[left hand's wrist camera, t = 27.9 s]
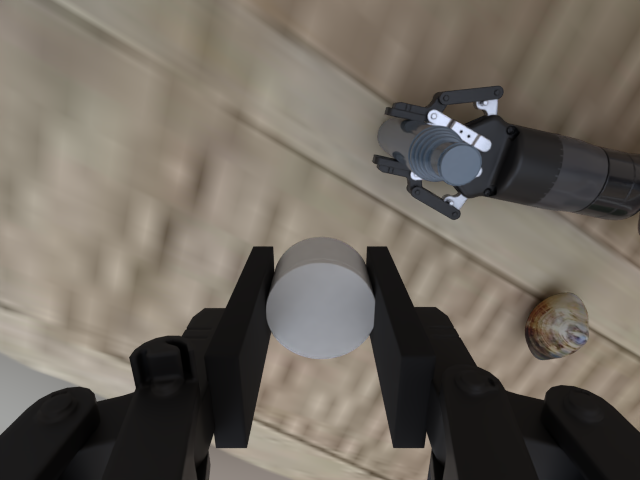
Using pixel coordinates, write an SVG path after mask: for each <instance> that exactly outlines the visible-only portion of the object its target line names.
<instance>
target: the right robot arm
mask: <svg viewBox="0 0 640 480" xmlns="http://www.w3.org/2000/svg"><path fill="white" fill-rule="evenodd" d="M503 92H504V91H503V88H502V87H501V86H491V87H482V88H473V89H464V90H454V91H445V92H438V93H436V94H435V95H434V96H433V100H432V101H431V102H430V104H429V105H428V106H426V107H420V106H416V105H411V104H407V103H402V102H398V103H393V106H392V108H389V107H386V110H385V114H386V115H390V116H394V117H399V118H403V119H408V120H413V121H419V122H427V123H430V124H436V125H441V126H446V127H448V128H451V129H452V130H454V131H455V132H456V133H457V134H458V135H459V136H460V137H461V139H462V140H463V142H464V143H467V144H470V145H471V146H472V145H473V146H474V147H476V148H477V149H478V151H479V152H480V155H481V157H482V165H481V169H480V171H479V173H478V175H477V176H476V177H475V179H473V180H472V181H471V182H470V183H467V184H465V185H461V186H454V188H455V189H456V190H457V191H458V193H457V194H455V195H449V194H446V195H444V196H443V197H442V198H440V197H439V196H437V195H435V194H433V193H432V192H430V191H428V190H427V189H425V188H423V187H422V180H423V179H421V178H419V177H418V176H417V175H415V174H414V173H413V172H411V171H410V170H409V169H408V168H406V167H405V166H404V165H402V164H401V163H400V162H398V161H397V160H396V159H393V158H389V157H384V156H379V155H374V157H373V163H375V164H377V168H378V169H379V170H380V171H382V172H385V173H389V174H394V175H399V176H404V177H406V178H407V183H408V185H407V191H408V192H409V193H410V194H411V195H412V196H413V197H414V198H416V199H418V200H419V201H421V202H423V203H425V204H426V205H428V206H430V207H431V208H433V209H435V210H437V211H438V212H440V213H442V214H444V215H445V216H447V217H449V218H450V219H452V220H456V219H458V218H459V217H460V214H461V213H460V211H459V210H460V208H461V207H462V206H463V204H464V203H465V201H466V200H467V199H468V198H474V197H478V196H485V197H490V198H494V199H499V200H504V201H509V202H513V203H518V204H523V205H528V206H533V207H537V208H542V209H547V210H555V211H568V212H572V213H577V214H582V215H587V216H591V217H596V218H601V219H606V220H622V219H626V218H629V217H631V216H633V215H635V214H636V213H637V212H639V211H640V154H632V153H626V152H621V151H617V150H612V149H608V148H604V147H599V146H595V145H592V144H589V143H587V142H584V141H582V140H579V139H575V138H571V137H567V136H562V135H559V134H553V133H549V132H544V131H540V130H536V129H531V128H527V127H522V126H518V125H513V124H509V123H507V122H505V121H504V120H503V119H502V118H501V117H500V116H498V115H497V108H498V99H499V98H501V97H502V95H503ZM469 102H473V106H474V108H475V109H480V110H482V111H483V112H484V116H482V117H479V118H477V119H475V120H473V121H470V122H468V123H466V124H464V125H462V124H461V123H459V122H457V121H455V120H453V119H451V118H449V117H448V116H446V115H444V114H443V113H442V112H443V110H444V109H445V108H446V106H447V105H450V104H459V103H469ZM638 233H639V235H640V214H639V220H638Z"/></svg>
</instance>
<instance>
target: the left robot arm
mask: <svg viewBox="0 0 640 480" xmlns="http://www.w3.org/2000/svg"><path fill="white" fill-rule="evenodd" d="M366 267H367V271H368V274H369V278H370V282H371V286H372V289H373V293H374V297H375V312H374V327H373V329H372V331H371V333H370V339H371V343H372V348H373V353H374V358H375V362H376V367H377V372H378V377H379V382H380V386H381V391H382V396H383V401H384V405H385V410H386V415H387V420H388V424H389V429H390V434H391V439H392V444H393V448H424V446H425V438H426V431H427V434H428V438H429V441H430V444H431V447H432V451H431V458H430V465H429V472H428V479H427V480H640V432H639V431H638V430H637V429H636V428H635V427H634V426H633V425H632V424H630V423H629V422H628V421H627V420H626V419H625V418H624V417H623V416H622V415H621V414H620V413H619V412H618V411H617V410H616V409H615V408H614V407H613V406H612V405H610V404H609V403H608V402H607V401H605V400H604V399H603V398H601V397H599V396H597V395H595V394H593V393H591V392H589V391H587V390H584V389H581V388H578V387H574V386H565V385H559V386H555V387H551V388H550V389H549V390H548V391H547V392H546V395H545V399H544V400H541V399H536V398H532V397H527V396H523V395H519V394H515V393H512V392H509V391H506V390H505V389H504V387H503V385H502V384H501V382H500V381H499V379H497V378H496V377H495V376H494V375H492V374H491V373H490V372H488V371H486V370H484V369H482V368H479V367H477V365H476V364H475V362H474V360H473V359H472V357H471V355H470V353H469V352H468V350H467V348H466V347H465V345H464V343H463V341H462V340H461V338H460V337H459V335H458V333H457V331H456V330H455V329H454V326H453V324H452V323H451V321H450V319H449V318H448V316H447V315H446V314H444V313H443V312H442V311H440V310H439V309H438V308H436V307H414V306H413V304H412V301H411V299H410V297H409V295H408V292H407V290H406V288H405V286H404V284H403V281H402V279H401V277H400V275H399V273H398V270H397V268H396V266H395V264H394V261H393V259H392V257H391V255H390V253H389V250H388V248H387V247H367V259H366ZM273 276H274V254H273V247H253V249H252V251H251V253H250V255H249V258H248V260H247V262H246V264H245V266H244V269H243V271H242V273H241V275H240V278H239V280H238V282H237V284H236V286H235V289H234V291H233V293H232V295H231V297H230V300H229V302H228V304H227V306H226V308H204V309H203V310H202V311H200V312H199V313H198V314H196V315H195V316H194V317H193V318H192V320H191V321H190V323H189V325H188V326H187V330H185V332H184V333H183V335H182V337H181V336H164V337H159V338H155V339H153V340H150V341H148V342H146V343H144V344H142V345H141V346H139V347H138V348H137V349H135V350H134V352H133V353H132V354H131V356H130V357H129V358H130V363H131V367H132V372H133V377H134V381H135V386H136V389H135V392H133V393H130V394H127V395H124V396H120V397H115V398H111V399H107V400H103V401H98V402H97V401H96V398H95V394H94V393H93V392H92V391H91V390H90V389H88V388H83V387H71V388H65V389H62V390H58V391H56V392H52V393H51V394H49V395H47V396H45V397H43V398H41V399H39V400H38V401H36V402H35V403H34V404H33V405H31V406H30V407H29V408H28V409H26V410H25V411H24V412H23V413H22V414H21V415H20V416H19V417H18V418H17V419H16V420H15V421H14V422H13V423H12V424H11V425H10V426H9V427H8V428H7V429H6V430H5V431H4V432H3V433H2V434H1V435H0V480H209V474H210V458H209V451H208V450H209V446H210V443H211V440H212V437H213V434H214V436H215V444H216V448H247V445H248V440H249V435H250V430H251V426H252V421H253V416H254V411H255V407H256V402H257V397H258V392H259V388H260V383H261V378H262V373H263V368H264V364H265V359H266V354H267V349H268V345H269V340H270V335H271V330H270V328H269V325H268V322H267V318H266V303H267V298H268V295H269V291H270V287H271V284H272V280H273Z"/></svg>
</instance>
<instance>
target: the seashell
mask: <svg viewBox="0 0 640 480" xmlns="http://www.w3.org/2000/svg"><path fill="white" fill-rule="evenodd" d="M588 337H589V325H588V313H587V310H586V308H585V306H584V304H583V302H582V300H581V299H580V298H579V297H578V296H576V295H575V294H573V293H560V294H556V295H553V296H551V297H549V298H547V299H545V300H543V301H542V302H541V303H539V304H538V305H537V306H536V307H535V308H534V309H533V311H532V312H531V314H530V316H529V318H528V320H527V323H526V327H525V338H526V342H527V345H528V347H529V349H530V351H531V353H532V354H533V355H534V356H535V357H536V358H537V359H540V360H549V359H555V358H562V357H565V356H568V355H570V354H572V353H574V352H576V351H577V350H578V349H580V348H581V347H582V346H583V345H584V344H585V343H586V342H587V340H588Z"/></svg>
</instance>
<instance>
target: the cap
mask: <svg viewBox="0 0 640 480" xmlns="http://www.w3.org/2000/svg"><path fill="white" fill-rule="evenodd" d="M374 312H375V297H374V293H373V289H372V286H371V282H370V278H369V274H368V271H367V267H366V264H365V262H364V260H363V259H362V257H361V256H360V255H359V253H358V252H357V251H356V250H355V249H354V248H352V247H351V246H350V245H348V244H346V243H344V242H342V241H340V240H337V239H333V238H328V237H314V238H309V239H306V240H303V241H300V242H298V243H296V244H295V245H293V246H292V247H290V248H289V249H288V250H287V251H286V252H285V253H284V254H283V255H282V257H281V258H280V260H279V262H278V263H277V266H276V269H275V272H274V276H273V280H272V284H271V287H270V291H269V295H268V298H267V303H266V318H267V322H268V325H269V328H270V330H271V332H272V333H273V335H274V337H275V338H276V339H277V340H278V341H279V342H280V343H281V344H282V345H283V346H284V347H286V348H287V349H288V350H290V351H292V352H294V353H296V354H298V355H301V356H304V357H308V358H313V359H329V358H335V357H339V356H342V355H345V354H347V353H349V352H351V351H353V350H354V349H356V348H357V347H359V346H360V345H361V344H362V343H363V342H364V341H365V340H366V339H367V337H368V336H369V334H370V333H371V331H372V329H373V327H374Z"/></svg>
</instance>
